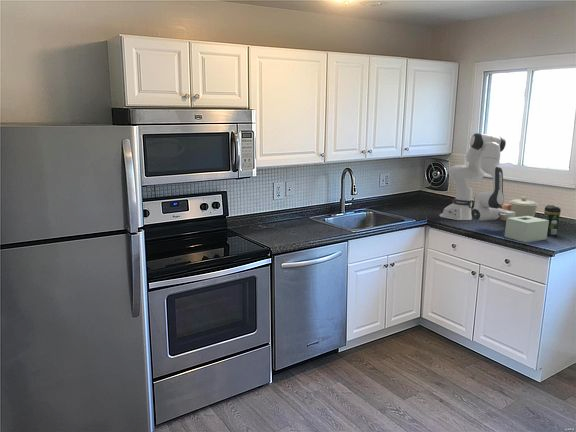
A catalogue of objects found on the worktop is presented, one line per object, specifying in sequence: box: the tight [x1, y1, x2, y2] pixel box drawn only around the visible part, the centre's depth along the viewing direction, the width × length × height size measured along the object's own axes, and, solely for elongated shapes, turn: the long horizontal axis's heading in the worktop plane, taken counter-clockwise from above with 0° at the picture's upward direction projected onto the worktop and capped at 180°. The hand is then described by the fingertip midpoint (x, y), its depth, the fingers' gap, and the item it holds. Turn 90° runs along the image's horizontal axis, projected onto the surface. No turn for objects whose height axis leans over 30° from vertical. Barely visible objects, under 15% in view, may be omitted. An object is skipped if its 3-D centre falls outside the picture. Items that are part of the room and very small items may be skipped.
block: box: [499, 203, 512, 221], centre depth 304 cm, size 6×3×10 cm, turn 117°
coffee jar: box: [543, 204, 562, 236], centre depth 296 cm, size 10×8×19 cm
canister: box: [508, 195, 539, 217], centre depth 315 cm, size 18×18×21 cm
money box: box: [503, 216, 549, 243], centre depth 284 cm, size 20×14×12 cm
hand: (507, 211), depth 305 cm, fingers closed on block, 3 cm apart
